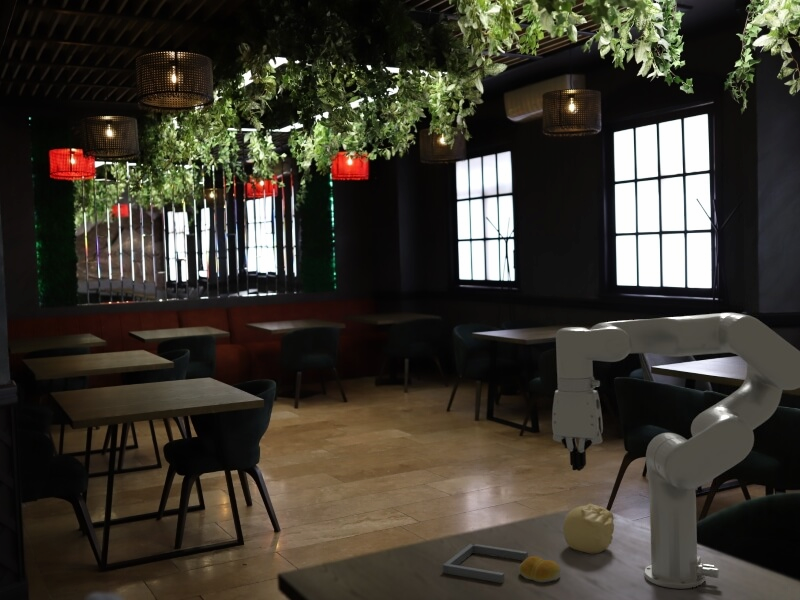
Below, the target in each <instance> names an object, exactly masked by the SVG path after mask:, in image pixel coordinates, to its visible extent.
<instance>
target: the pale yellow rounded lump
mask: <svg viewBox="0 0 800 600" xmlns="http://www.w3.org/2000/svg"><path fill="white" fill-rule="evenodd" d="M614 519H615V518H614V514H613V512H612V511H610V510H608V509H607V508H605V507H603V506H600V505H597V504H592V503H588V504H586V505H580V506H577V507H575V508H572V509H571V510H570V511H569V512H568V513H567V515H566V516H565V518H564V521H563V525H562V533H563V537H564V540H565V542H566V544H567V545H568V547H569V548H571V549H573V550H576V551H579V552H583V553H586V554H599V553H601V552H603V551H605V550H607V549H608V548H609V547H610V545H611V544H612V541H613V540H614V537H613V533H614V531H615V524H614Z"/></svg>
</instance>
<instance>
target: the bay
mask: <svg viewBox="0 0 800 600" xmlns="http://www.w3.org/2000/svg"><path fill="white" fill-rule="evenodd" d="M473 552H475V553H473ZM472 553H473V554H478V553H480V554H479V555H485V554H487V555H486V556H491V555H494V557H497V556H501V557H500V558H504V557H505V558H506V559H510V558H511V559H512V560H516V559H517V560H518V561H522V562H524V560H525V559H527V558H528V557H529V556H528V551H524V550H517V549H511V548H505V547H498V546H493V545H485V544H479V543H478V544H477V543H469V544H467V545H466V547H464V548H462V549H461V550H460V551H459V552H458V553H456V554H455V555H454V556H453V557H451V558H450V559H448V560H447V561H445V563H443V564H442V574H447V575H454V576H459V577H464V578H471V579H477V580H483V581H487V582H488V581H489V582H494V583H499V584H503V583H504V582H505V573H504V572H499V571H493V570H487V569H481V568H475V567H469V566H465V565H464V566H463V565H460V564H462V563H463V562H464V561H466V560H467V559H466V558H467V557H468V558H469V557H470V556H472V555H473V554H472ZM471 554H472V555H471ZM505 558H504V559H505ZM462 561H463V562H462ZM461 562H462V563H461Z"/></svg>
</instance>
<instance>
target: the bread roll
mask: <svg viewBox="0 0 800 600" xmlns="http://www.w3.org/2000/svg"><path fill="white" fill-rule="evenodd" d="M518 571H519V573H520V575H521V576H522V577H523V578H524V579H527V580H531V581H534V582H536V583H550V582H553V581H557V580H558V579H559V578H560V577H561V567H560V565H559V564H558V562H555V561H554V560H550V559H545V560H544V559H543V558H542V557H539V556H537V555H535V556H533V555H532V556H528V558H527V559H525V560H524V561H522V562H521V563H520V564H519V566H518Z"/></svg>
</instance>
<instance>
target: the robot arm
mask: <svg viewBox="0 0 800 600" xmlns="http://www.w3.org/2000/svg"><path fill="white" fill-rule="evenodd" d="M555 347H556V349H555V350H556V351H555V352H556V373H557V389H555V391H554V396H553V403H552V412H551V413H552V414H551V420H552V421H551V426H552V427H551V428H552V433H553V435H552V440H553V441H554V442H558V443H562V444H563V445H564V446H565V447H566V448H567V451H568V452H569V465H570V466H572V471H578V472H580V471H582V470H583V469H584V468H585V467H586V465H587V458H586V457H587V454H586V451H587V450H588V449H589V447H591V446H594V445H600V444H601V443H602V442H603V437H602V433H603V430H604V427H603V424H604V423H603V415H602V407H601V402H600V401H601V400H600V396H599V392H598V390H595V388H596V387H600V386H601V381H600V380H598V379H597V380H596V379H595V377H594V371H593V370H594V369H593V367H594V366H593V361H599V362H607V363H608V362H609V363H610V362H611V363H612V362H613V363H615V362H620V361H622V360H624V359H625V358H626V357H628V355H629V354H653V355H659V356H665V357H686V356H687V357H689V356H698V355H700V356H701V355H711V354H713V355H715V354H725V353H731V354H735V355H737V356H738V357H739V358H741V359H742V360H743V361H744V362H745V363H747V365H746V367H747V368H746V376H745V378H744V380H743V383H742V384H741V386H740V387H739V388H738V389H737V390H735V391H733V392H732V393H731V394H730V395H728V396H727V397H725V398H723V399H722V400H720V401H718V402H717V403H716V404H714V405H712V406H710V407H709V408H707V409H705V410H704V411H702V412H701V413H698V415H697V416H696V417H695V418H693V420H692V423H691V425H690V433H691V436H692V437H690V438H689V439H686V438H685V437H684V436H682V435H680V434H677V433H675V432H674V433H673V432H662V433H660V434H657V435H656V436H654V437H653V438H652V439H651V441H650V442H649V443H648V445H647V449H646V453H645V464H646V465H645V466H646V470H647V472H646V473H647V476H648V478H647V479H648V486H649V487H648V488H649V515H650V516H649V519H650V520H649V523H650V526H649V527H650V556H651V557H650V558H651V559H650V560H651V564H650V565H647V566H646V567H645V568H644V570H643V571H644V573H643V575H644V578H645V579H646V580H647V581H648V582H649V583H652V584H654V585H657V586H661V587H664V588H670V589H677V590H678V589H681V590H682V589H683V590H685V589H692V587H693V588H696V586H697V587H699V586H698V585H700V584H701V585H703V584H704V583H705V582H706V577H709V578H712V579H719V577H720V576H719V575H720V571H719V568H716V567H715V564H707V563H704V562H703V561H702V562H701V558H702V557H701V556H700V555H698V546H697V545H698V540H697V537H698V536H697V497H696V489H697V488H700V487H702V486H704V485H705V484H707V483H709V482H710V481H712V480H714V479H715V478H717V477H718V476H720V475H722V474H723V473H725V472H726V471H728V470H730V469H732V468H733V467H735V466H736V465H737V464H739V463H741V462H742V461H744V459H746V457H747V456H748V455H749V454H750V452H751V451H752V449H753V447H754V444H755V443H754V442H755V435H754V434H755V433H754V430H755V429H756V428H757V427H759V426H761V425H762V424H763V423H765V422H766V421H768V420H769V419H770V418H771V417H772V416H773V415H774V414H775V412H776V410H777V408H778V406H779V405H780V402H781V398H782V394H783V391H792V390H797V389H800V350H799V349H797V348H796V347H795V346H793V345H792V344H791V343H790V342H788V341H787V340H785V339H784V338H783V337H782V336H780V335H779V334H778V333H777V332H775V331H774V330H773V329H771V328H770V327H769V326H768V325H766V324H765V323H763V322H762V321H760V319H758V318H756V317H753V316H751V315H747V314H743V313H736V312H721V313H709V314H696V315H684V316H673V317H672V316H671V317H659V318H649V319H648V318H647V319H634V320H633V319H629V320H617V321H608V322H607V321H606V322H599V323H597V324H594V325H592V327H591V328H589V329H588V328H586V327H579V326H576V327H573V326H571V327H562V328H560V329H558V330H557V331H556V334H555ZM577 439H579V440H578V444H577ZM704 581H705V582H704ZM703 582H704V583H703ZM702 583H703V584H702ZM701 585H700V586H701Z"/></svg>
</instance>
